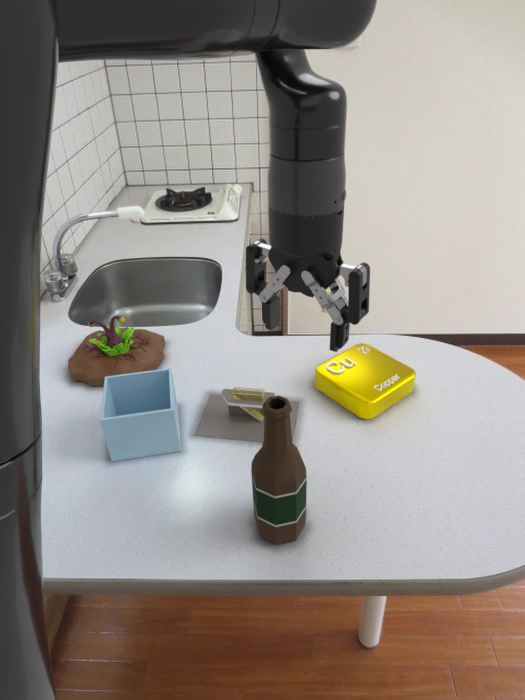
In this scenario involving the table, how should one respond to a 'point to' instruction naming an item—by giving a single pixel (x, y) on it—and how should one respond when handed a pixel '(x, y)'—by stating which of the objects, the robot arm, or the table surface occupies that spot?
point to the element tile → (364, 380)
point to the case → (140, 414)
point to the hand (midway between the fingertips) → (304, 337)
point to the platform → (238, 415)
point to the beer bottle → (278, 477)
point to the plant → (115, 353)
